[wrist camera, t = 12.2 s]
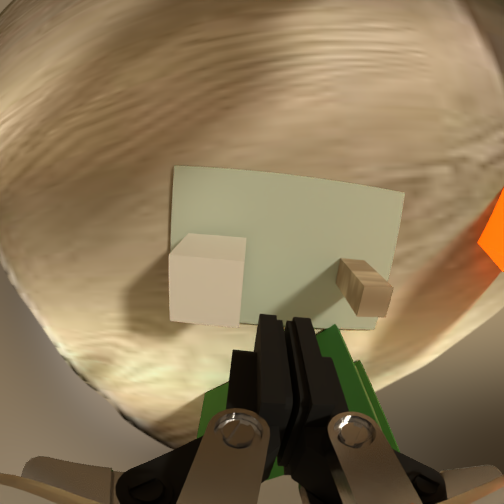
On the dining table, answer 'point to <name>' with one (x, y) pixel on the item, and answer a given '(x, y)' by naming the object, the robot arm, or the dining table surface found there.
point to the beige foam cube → (207, 280)
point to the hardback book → (357, 398)
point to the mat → (290, 236)
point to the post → (363, 288)
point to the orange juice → (495, 234)
